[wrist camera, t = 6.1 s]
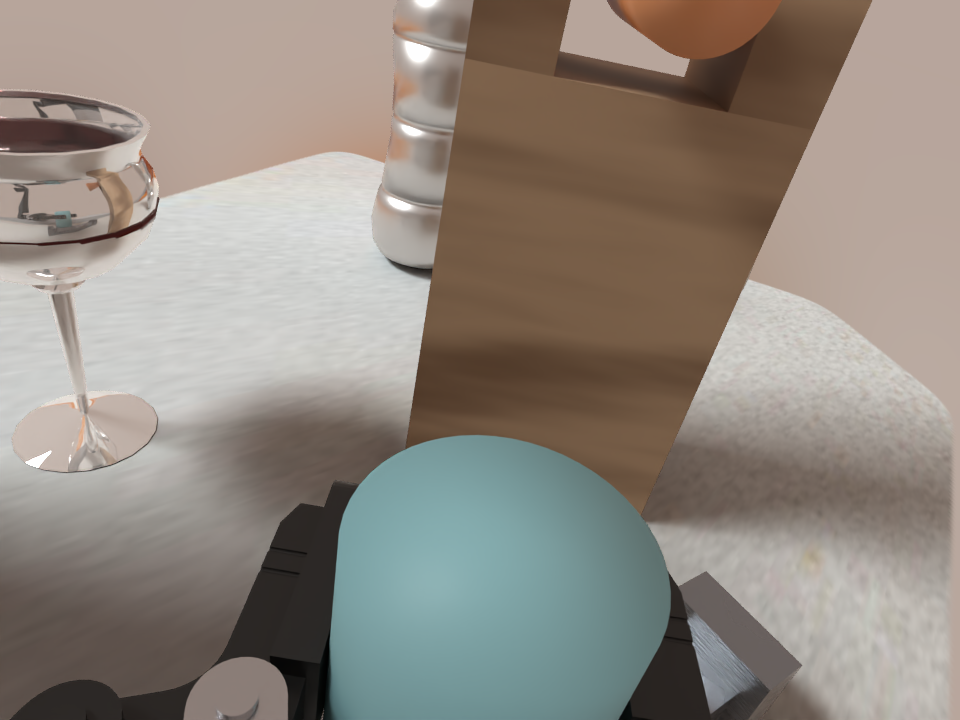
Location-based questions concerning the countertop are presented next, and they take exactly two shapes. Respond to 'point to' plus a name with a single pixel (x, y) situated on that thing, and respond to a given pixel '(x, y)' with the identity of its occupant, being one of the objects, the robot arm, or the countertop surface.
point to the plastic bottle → (420, 127)
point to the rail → (734, 653)
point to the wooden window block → (607, 229)
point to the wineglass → (73, 253)
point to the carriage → (491, 589)
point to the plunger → (696, 23)
